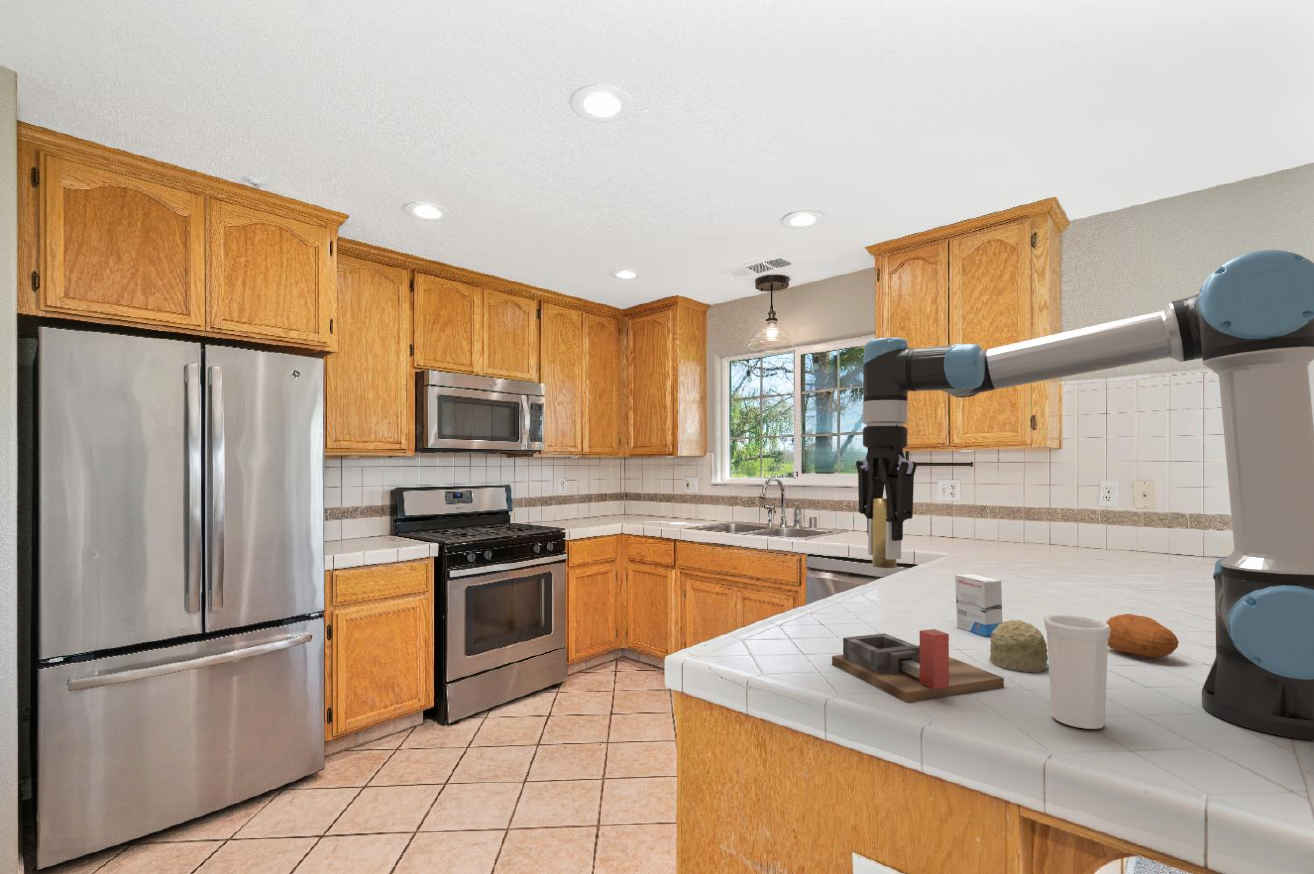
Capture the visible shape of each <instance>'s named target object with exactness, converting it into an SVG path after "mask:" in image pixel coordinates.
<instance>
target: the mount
mask: <svg viewBox="0 0 1314 874" xmlns="http://www.w3.org/2000/svg"><path fill="white" fill-rule="evenodd" d="M842 638H843V639H842V641H843V643H842V644H843V645H842V646H843V647H842V648H843V649H842V654H835V655H831V664H832V665H834V666H835V667H837V668H839V669H840V670H843V671H845V672H847V673H849V674H851V675H852V676H855V677H856V678H858V679H860V680H862V681H864V682H866V683H868V684H870V685H872V686H874V687H876V688H878V689H880V690H882V691H884V692H886V693H888V694H889V695H891V696H894V697H896V698H897V699H899V700H902V701H903V702H906V703H910V702H917V701H922V700H929V699H935V698H944V697H949V696H956V695H960V694H961V695H962V694H967V693H969V694H970V693H974V692H981V691H986V690H994V689H1000V688H1005V677H1004V676H1003V677H1002V676H1001V675H997V674H995V673H992V672H990V671H988V670H985V669H982V668H980V667H977V666H974V665H971V664H969V663H967V662H964V661H961V660H958V659H956V658H953V657H951V656H949V687H944V688H937V689H933V688H931V687H928V686H926V685H924V684H922V683H920V679H919V678H917V677H915V676H912V675H910V674H908V673H906V672H903V671H901V670H899V659H904V658H907V659H909V660H912V661H914V662H916V663H919V664H920V644H919V645H915V644H914V643H911V642H909V641H906V640H903V639H900V638H897V637H895V636H893V635H890V634H887V633H885V632H883V633H876V634H874V633H873V634H867V635H866V634H865V635H857V636H856V635H855V636H846V637H842Z"/></svg>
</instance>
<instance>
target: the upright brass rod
mask: <svg viewBox="0 0 1314 874" xmlns="http://www.w3.org/2000/svg"><path fill="white" fill-rule="evenodd" d="M888 518H889V513H888V506H887V498H886V497H883V498H873V555H872V567H874V568H875V567H876V568H881V569H896V568H897V559H889V560H888V559H886V519H888Z"/></svg>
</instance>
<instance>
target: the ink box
mask: <svg viewBox="0 0 1314 874" xmlns="http://www.w3.org/2000/svg"><path fill="white" fill-rule="evenodd" d="M1002 596H1003V595H1002V580H1000V579H995V578H990V577H987V576H982V575H977V574H973V573H969V574H967V573H965V574H956V575H955V603H956V604H955V607H956V628H957V629H961V630H964V631H967V632H970V633H973V634H977V635H980V636H982V637H984V638H988V637H989V638H990V637H991V634H992V631H994V630H995V629H996V628H997V627H998V624H1001V623H1003V622H1004V621H1003V602H1002V601H1003V599H1002V598H1003V597H1002Z"/></svg>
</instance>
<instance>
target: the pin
mask: <svg viewBox="0 0 1314 874" xmlns="http://www.w3.org/2000/svg"><path fill="white" fill-rule="evenodd" d="M949 636H950V635H949V633H947V632H944V631H941V630H939V629H935V628H933V629H923V630H922V629H921V630H919V645H920V664H919V663H916V662H914V661H912V660H909V659H907V658H904V659H899V670H901V671H903V672H906V673H908V674H910V675H912V676H915V677H917V678H919V679H920V683H922V684H924V685H926V686H928V687H931V688H933V689H937V688H944V687H949V657H950V647H949V646H950V637H949Z"/></svg>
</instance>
